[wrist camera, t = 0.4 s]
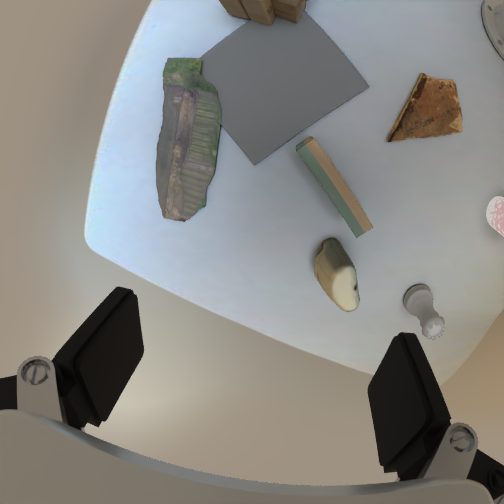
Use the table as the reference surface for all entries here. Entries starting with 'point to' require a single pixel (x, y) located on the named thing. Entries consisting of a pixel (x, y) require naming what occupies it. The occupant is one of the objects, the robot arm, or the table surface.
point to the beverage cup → (496, 214)
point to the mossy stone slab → (186, 139)
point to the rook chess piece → (424, 310)
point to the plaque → (334, 185)
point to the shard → (429, 111)
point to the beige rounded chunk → (337, 275)
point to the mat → (277, 81)
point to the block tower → (265, 9)
